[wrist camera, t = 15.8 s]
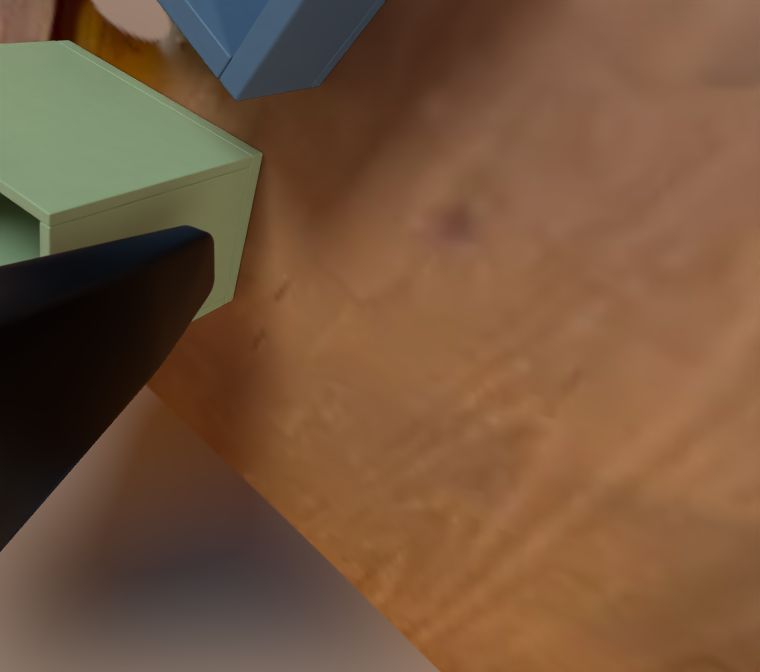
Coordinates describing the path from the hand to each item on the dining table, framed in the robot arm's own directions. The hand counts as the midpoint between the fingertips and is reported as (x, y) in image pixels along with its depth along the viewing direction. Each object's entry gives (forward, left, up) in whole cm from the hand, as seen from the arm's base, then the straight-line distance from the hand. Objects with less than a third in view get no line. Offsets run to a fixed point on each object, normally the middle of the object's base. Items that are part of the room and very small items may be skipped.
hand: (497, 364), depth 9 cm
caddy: (-2, +19, -11) cm, 22 cm away
